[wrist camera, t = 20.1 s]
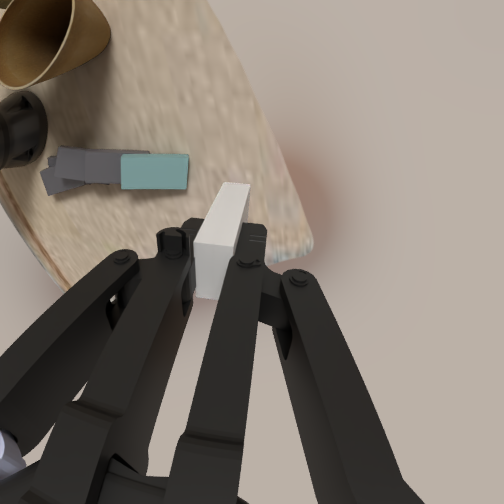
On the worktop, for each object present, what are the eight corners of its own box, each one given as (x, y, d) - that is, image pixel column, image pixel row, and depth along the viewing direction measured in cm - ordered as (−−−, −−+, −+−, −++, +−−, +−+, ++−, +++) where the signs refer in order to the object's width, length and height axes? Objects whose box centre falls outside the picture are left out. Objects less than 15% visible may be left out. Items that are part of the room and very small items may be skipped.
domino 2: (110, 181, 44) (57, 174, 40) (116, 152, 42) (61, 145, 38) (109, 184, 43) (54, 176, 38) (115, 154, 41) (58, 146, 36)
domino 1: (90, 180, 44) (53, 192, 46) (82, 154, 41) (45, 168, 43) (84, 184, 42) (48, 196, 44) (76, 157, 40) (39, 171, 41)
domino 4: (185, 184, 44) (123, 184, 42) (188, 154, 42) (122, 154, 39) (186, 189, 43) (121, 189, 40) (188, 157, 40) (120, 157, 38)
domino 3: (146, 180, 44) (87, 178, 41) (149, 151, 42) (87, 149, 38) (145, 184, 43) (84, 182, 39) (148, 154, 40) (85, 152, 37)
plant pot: (150, 12, 30) (98, -14, 16) (101, 93, 36) (37, 107, 23) (84, -12, 25) (24, -29, 12) (44, 63, 32) (-22, 72, 18)
